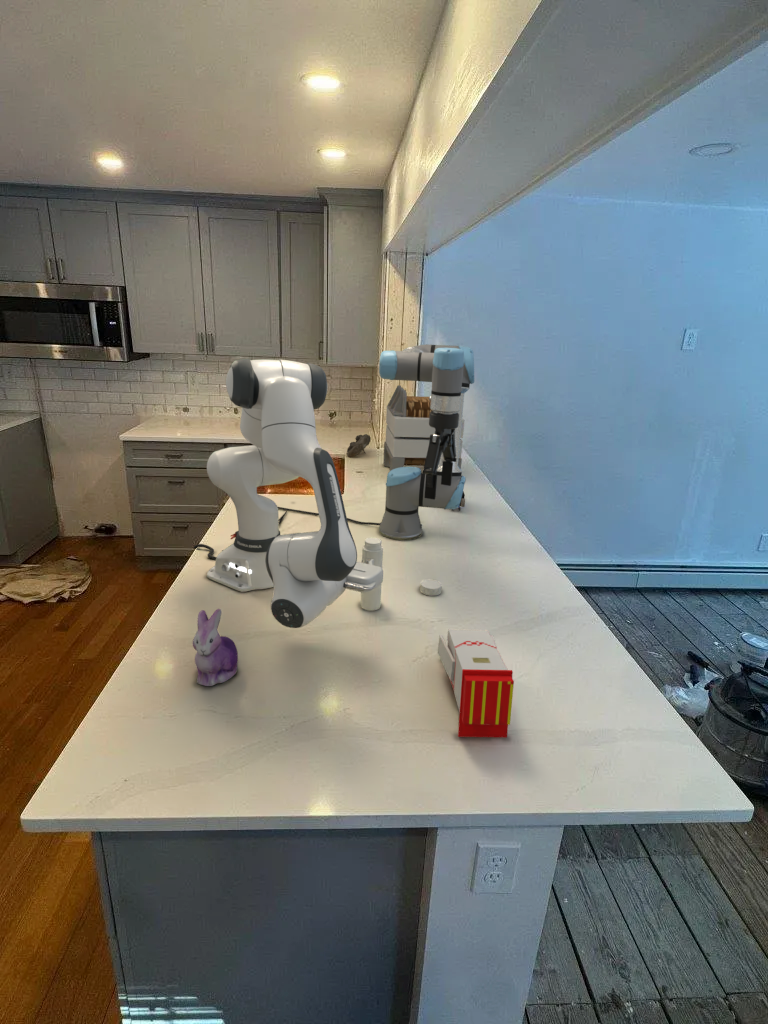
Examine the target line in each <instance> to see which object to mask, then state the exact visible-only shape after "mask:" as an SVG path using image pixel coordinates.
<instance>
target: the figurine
mask: <svg viewBox="0 0 768 1024" xmlns="http://www.w3.org/2000/svg"><path fill="white" fill-rule="evenodd" d="M221 617H222V609H220V608H217V609H216V610H214V611H213V613H212V614H211V616H210V617H208V614H207V612H206V610H204V609H201V610H200V611H199V612H198V614H197V617H196V618H197V620H196V621H197V622H196V624H197V631H196V632H195V634H194V637H193V639H192V647H193V649H194V650H195V651H196V654H195V656H194V664H195V666H196V667H195V668H196V670H197V679H196V682H197V684H198V685H201V686H204V687H205V686H206V687H213V686H215V685H216V684H222V683H225V682H227V681H228V680H229V679H231V678H232V677H234V675H235V676H236V674H237V671H238V663H239V662H238V661H239V656H238V655H239V653H238V648H237V645H236V644H235V642H234V640H233V639H232V638H230V637H228V636H226V635H225V636H223V635H220V633H219V631H218V629H219V624H220V622H221Z"/></svg>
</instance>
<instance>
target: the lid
mask: <svg viewBox="0 0 768 1024" xmlns="http://www.w3.org/2000/svg"><path fill="white" fill-rule="evenodd" d="M442 587H443V586H442V582H440V581H439V580H437V579H432V578H428V579H427V578H425V579H423V580H421V581H420V585H419V591H420V594H421V593H422V594H423V595H425V596H429V597H431V596H432V597H434V596H439V595H441V593H442Z"/></svg>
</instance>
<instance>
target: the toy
mask: <svg viewBox="0 0 768 1024" xmlns="http://www.w3.org/2000/svg"><path fill="white" fill-rule="evenodd" d="M446 640H447V643H446V641H445V639H444V636H443V635H442V634H439V637H438V646H437V656H438V657H439V659H440V661H441V663H442V666H443V668H444V670H445V672H446V674H447V677H448V679H449V681H450V684H451V687H452V690H453V693H454V697H455V701H456V705H457V708H458V711H459V714H458V715H459V716H458V730H457V731H458V732H457V737H458V738H508V731H509V726H510V725H511V717H512V707H513V697H514V696H513V695H514V684H515V680H514V679H513V673H514V671H513V670H512V669H508V667H507V665H506V662H505V661H504V659H503V658H502V655H501V653H500V651H499V649H498V647H497V643H496V639H495V637H494V635H493V634H491V632H490V631H489V629H467V628H466V629H465V628H463V629H461V628H460V629H459V628H448V630H447V639H446Z"/></svg>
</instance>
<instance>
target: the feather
mask: <svg viewBox="0 0 768 1024" xmlns="http://www.w3.org/2000/svg"><path fill="white" fill-rule="evenodd" d="M287 512H288V511H287V510H285V512H284V513H283V514H282V515H281V517H280V518H279V526H280V525H281V524H282V522H283V519H284V518H285V516H286V514H287Z"/></svg>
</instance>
